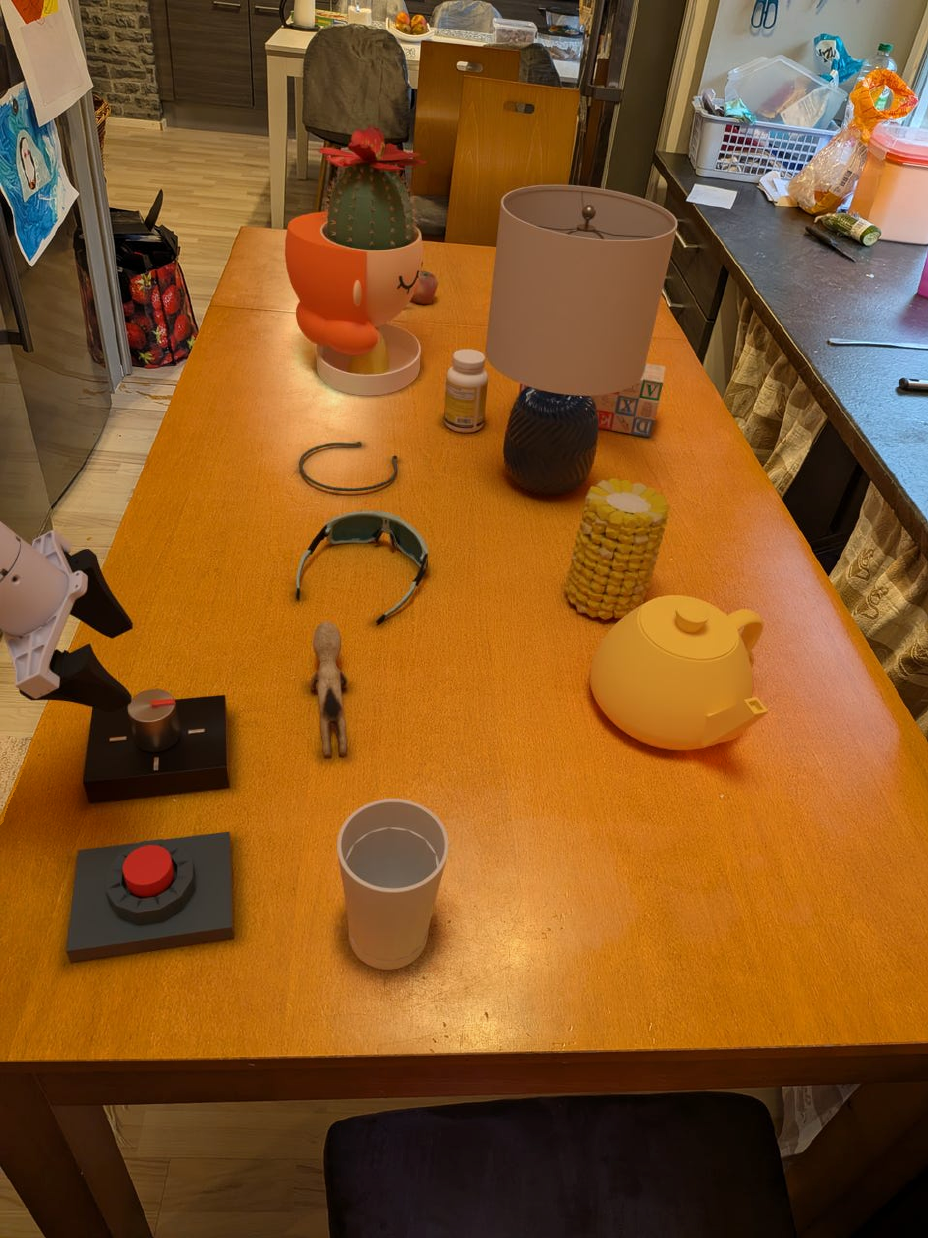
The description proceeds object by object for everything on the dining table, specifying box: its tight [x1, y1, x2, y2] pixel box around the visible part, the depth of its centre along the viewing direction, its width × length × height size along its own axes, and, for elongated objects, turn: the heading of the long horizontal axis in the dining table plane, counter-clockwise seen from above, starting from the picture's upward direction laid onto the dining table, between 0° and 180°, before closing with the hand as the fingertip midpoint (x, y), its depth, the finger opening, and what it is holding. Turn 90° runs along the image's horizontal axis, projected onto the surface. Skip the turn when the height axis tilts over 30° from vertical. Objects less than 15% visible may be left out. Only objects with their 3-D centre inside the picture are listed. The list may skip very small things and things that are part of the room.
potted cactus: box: [284, 125, 427, 397], centre depth 138 cm, size 22×22×35 cm
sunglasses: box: [295, 509, 429, 625], centre depth 105 cm, size 14×15×5 cm
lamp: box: [485, 184, 678, 497], centre depth 114 cm, size 20×20×37 cm
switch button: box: [123, 845, 174, 897], centre depth 70 cm, size 4×4×2 cm
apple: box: [410, 270, 439, 305], centre depth 171 cm, size 6×8×6 cm
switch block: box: [65, 831, 235, 963], centre depth 71 cm, size 12×9×4 cm
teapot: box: [588, 594, 769, 751], centre depth 90 cm, size 20×19×13 cm
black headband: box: [298, 441, 398, 492], centre depth 124 cm, size 14×13×1 cm
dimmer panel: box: [82, 694, 231, 805], centre depth 82 cm, size 12×9×3 cm
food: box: [564, 477, 670, 621], centre depth 103 cm, size 15×12×10 cm
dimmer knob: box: [128, 688, 181, 752], centre depth 80 cm, size 4×4×4 cm
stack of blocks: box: [518, 363, 666, 438], centre depth 138 cm, size 21×6×12 cm, turn 76°
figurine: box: [309, 621, 348, 758], centre depth 89 cm, size 4×4×15 cm
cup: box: [336, 798, 450, 971], centre depth 68 cm, size 8×8×12 cm
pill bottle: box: [443, 348, 489, 434], centre depth 133 cm, size 6×6×11 cm
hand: (121, 666), depth 71 cm, fingers open, 7 cm apart
